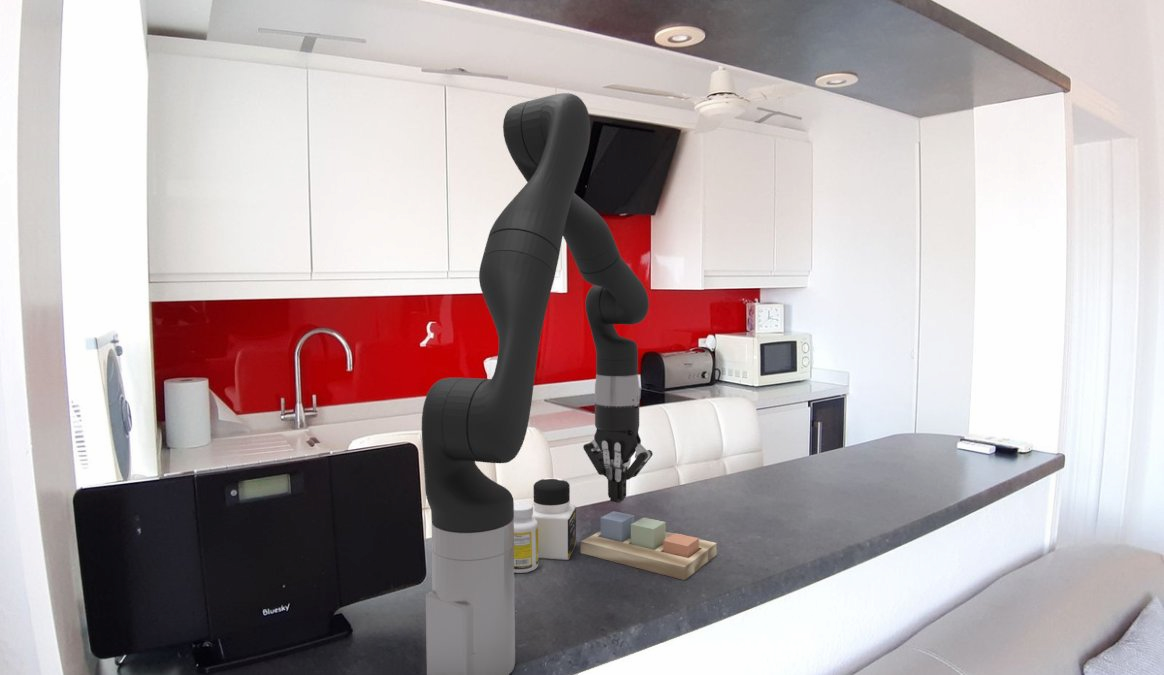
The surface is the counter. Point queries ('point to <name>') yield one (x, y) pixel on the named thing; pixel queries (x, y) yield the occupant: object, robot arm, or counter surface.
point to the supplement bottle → (525, 538)
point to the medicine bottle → (554, 519)
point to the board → (649, 556)
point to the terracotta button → (681, 545)
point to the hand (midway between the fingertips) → (617, 501)
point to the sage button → (648, 533)
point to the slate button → (616, 526)
